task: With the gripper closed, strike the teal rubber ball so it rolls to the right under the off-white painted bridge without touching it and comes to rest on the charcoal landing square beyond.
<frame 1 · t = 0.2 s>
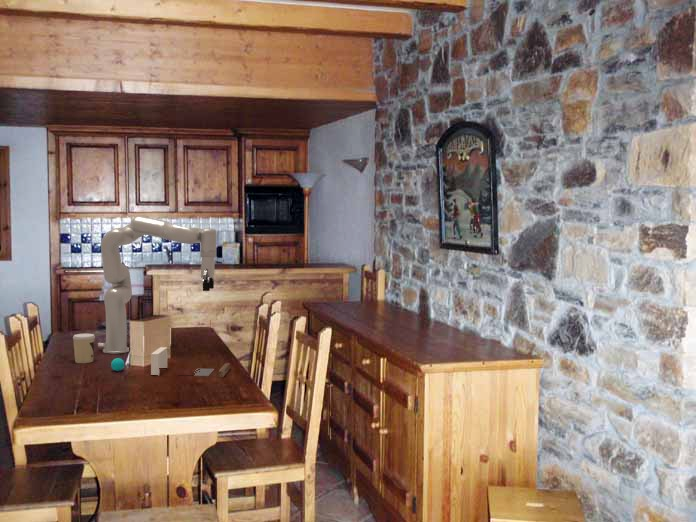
hand: (208, 289, 351), 31 cm above the table, tool pointing down, fingers open, 9 cm apart
coffee cup: (84, 361, 332), on the table
bridge: (159, 371, 314), on the table
stopper wall: (224, 372, 314), on the table
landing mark: (196, 372, 314), on the table
ball: (117, 364, 314), on the table
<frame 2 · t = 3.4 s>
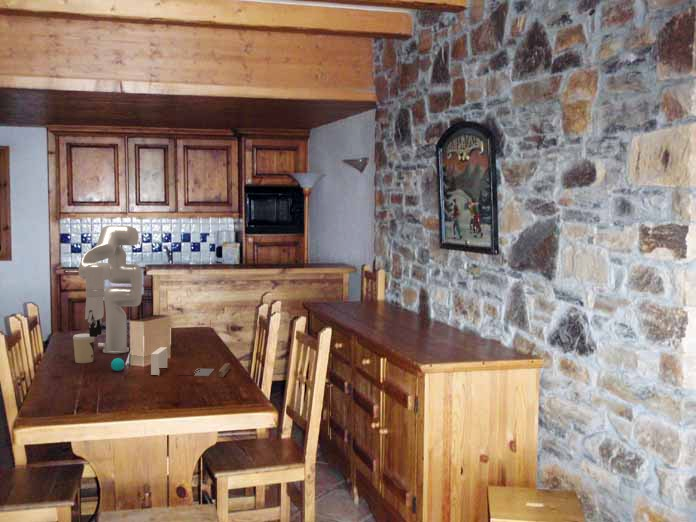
hand: (95, 335, 314), 15 cm above the table, tool pointing down, fingers open, 4 cm apart
nothing on the table moved.
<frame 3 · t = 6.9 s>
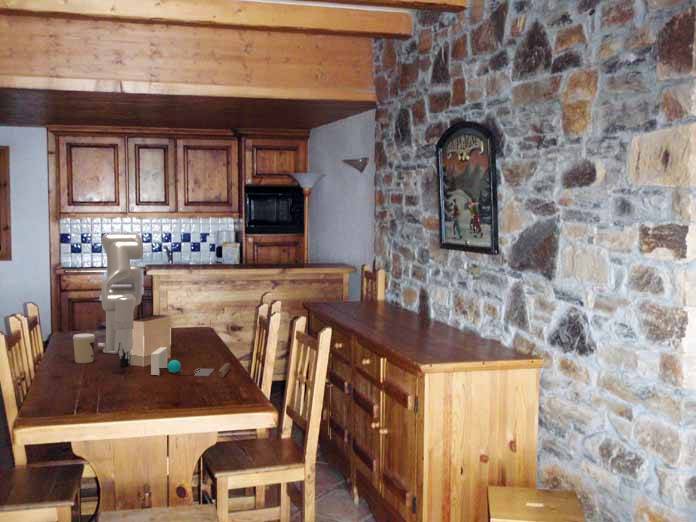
hand: (124, 367, 314), 2 cm above the table, tool pointing down, fingers closed
ball: (174, 366, 312), on the table
everything else where it was.
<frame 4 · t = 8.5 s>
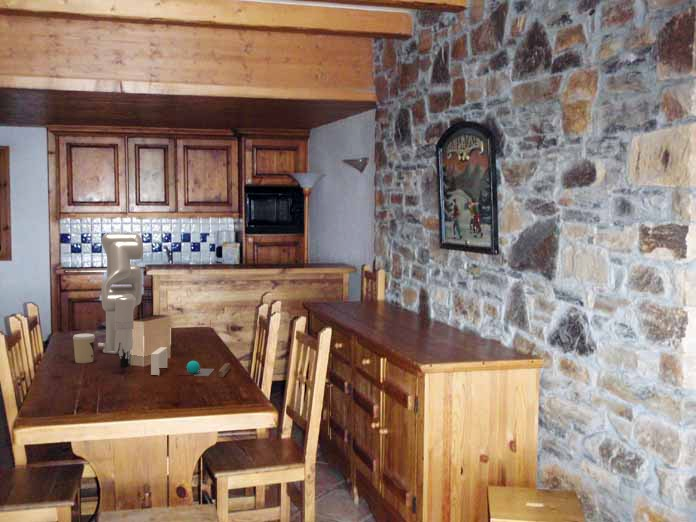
hand: (124, 367, 314), 2 cm above the table, tool pointing down, fingers closed
ball: (193, 367, 312), on the table
everything else where it was.
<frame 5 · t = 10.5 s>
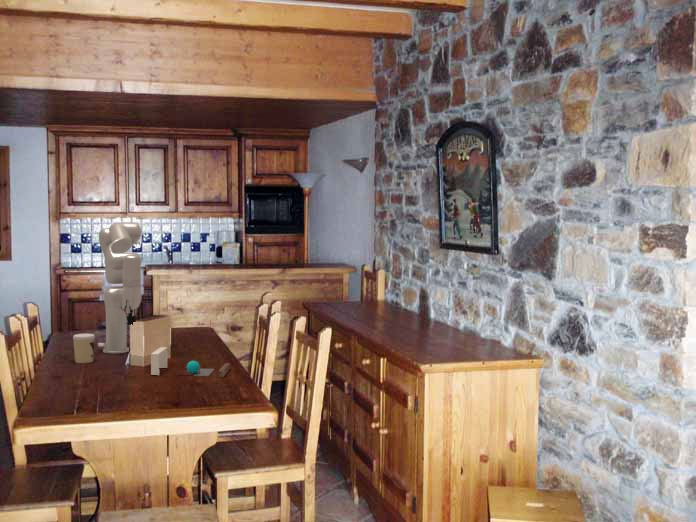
hand: (131, 324, 321), 19 cm above the table, tool pointing down, fingers closed
nothing on the table moved.
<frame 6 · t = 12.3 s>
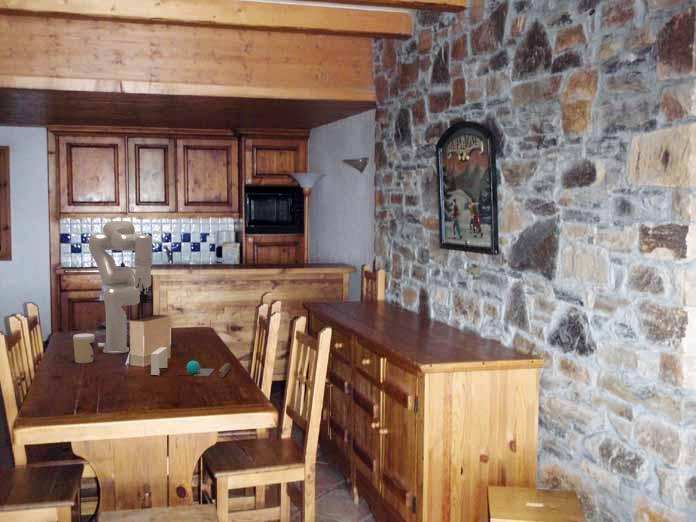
hand: (143, 303, 330), 27 cm above the table, tool pointing down, fingers closed
nothing on the table moved.
at the end: ball 2.4 cm from the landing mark (horizontally); ball never touched bridge; ball at rest at the end (0.0 cm/s) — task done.
